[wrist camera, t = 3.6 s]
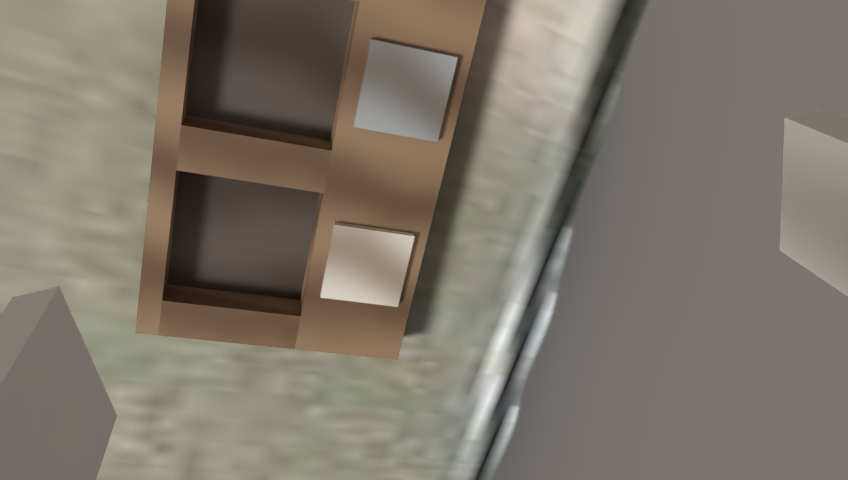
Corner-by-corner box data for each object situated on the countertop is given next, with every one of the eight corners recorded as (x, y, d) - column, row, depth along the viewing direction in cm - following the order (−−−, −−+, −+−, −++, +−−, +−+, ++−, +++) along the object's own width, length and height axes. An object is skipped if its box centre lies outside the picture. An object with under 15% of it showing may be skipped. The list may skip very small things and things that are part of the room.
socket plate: (392, 338, 47) (398, 363, 44) (143, 311, 43) (134, 336, 40) (531, -236, 35) (550, -248, 33) (206, -341, 31) (200, -362, 29)
